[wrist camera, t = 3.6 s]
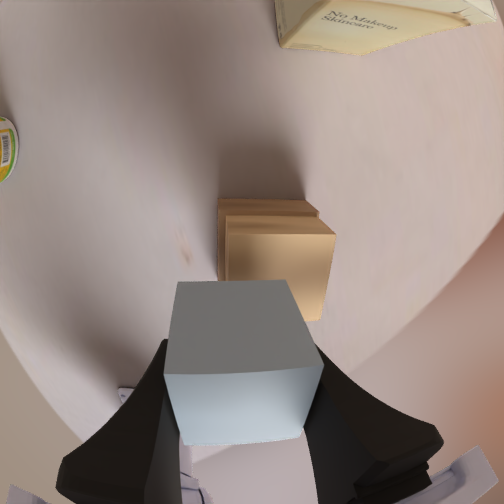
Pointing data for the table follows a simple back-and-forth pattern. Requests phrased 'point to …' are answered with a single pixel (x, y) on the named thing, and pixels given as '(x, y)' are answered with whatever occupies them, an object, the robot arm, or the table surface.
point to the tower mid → (282, 255)
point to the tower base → (258, 209)
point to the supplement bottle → (7, 148)
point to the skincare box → (371, 22)
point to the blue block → (239, 362)
